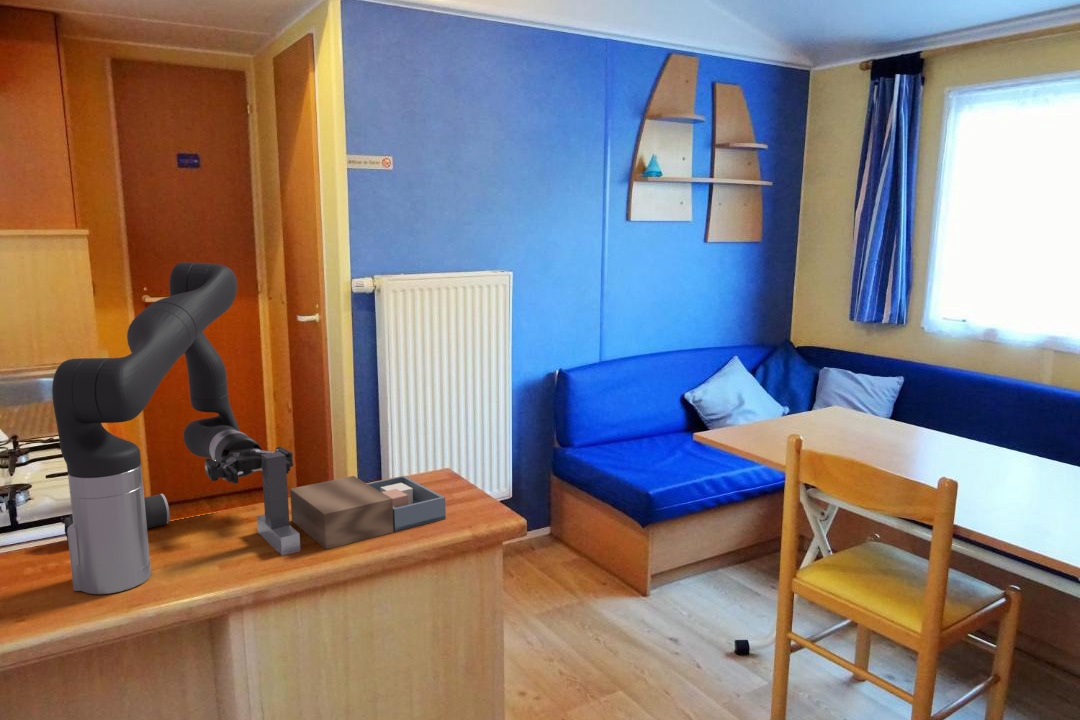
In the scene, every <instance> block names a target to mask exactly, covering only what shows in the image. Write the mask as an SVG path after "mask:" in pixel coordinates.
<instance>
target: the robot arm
mask: <svg viewBox="0 0 1080 720" xmlns="http://www.w3.org/2000/svg"><path fill="white" fill-rule="evenodd" d="M168 285H169V296H166V297H163V298H160V299H158V300H156V301H154V302H152V303H151V304H149V305H148V306H147V307H145V308H144V309H143V310H142V311H141V312H140V313H139V314H138V315H137V316H135V318H134V319H133V320H131V321H132V322H130V324H129V326H128V328H127V329H128V330H127V333H126V334H127V335H126V339H127V345H128V347H129V350H130V352H131V353H130V354H127V355H125V356H122V357H121V356H120V357H93V358H91V357H89V358H88V357H87V358H85V357H84V358H83V357H82V358H80V357H79V358H70V359H67V360H65V361H64V360H63V362H62V363H61V364H59V365H58V367H57V368H56V370H55V372H54V374H53V379H52V385H51V387H52V388H51V393H52V394H51V395H52V404H53V410H54V416H55V422H56V423H55V424H56V427H57V433H58V434H57V435H58V440H59V441H58V442H59V446H60V451H61V452H60V453H61V455H62V457H63V460H64V461H65V465H66V469H67V476H68V477H67V478H68V479H67V480H68V489H69V495H70V496H69V497H70V505H71V513H72V514H71V515H72V516H73V524H72V525H70V526H69V527H68V529H67V534H68V540H67V543H68V550H69V552H68V553H69V561H70V569H71V580H72V588H73V591H74V592H84V593H85V594H90V595H106V594H114V593H119V592H122V591H127V590H130V589H133V588H135V587H137V586H139V585H141V584H143V583H145V582H146V581H148V580H149V578H151V575H152V567H151V558H150V547H149V535H148V528H147V522H146V511H145V500H144V498H145V492H144V491H145V489H144V483H143V470H142V461H141V460H142V457H141V451H140V448H139V446H138V445H137V444H136V443H134V442H132V441H130V440H127V439H123V438H121V437H118V436H116V435H114V434H113V433H111V432H110V431H108V430H107V429H106V428H105V427H104V426H103V424H114V423H116V424H117V423H124V422H129V421H132V420H135V418H137V416H139V415H140V414H141V413H142V412H143V410H145V408H146V406H147V405H148V403H149V402H150V400H151V398H152V397H153V395H154V393H155V392H156V390H157V388H158V387H159V385H160V384H161V382H162V380H163V379H164V377H165V376H166V375H167V374H168V372H169V371H170V370H171V369H172V368H173V366H174V364H175V363H177V361H178V360H179V359H180V358H181V357H182V356H183V355H184V357H185V361H186V367H187V373H188V375H187V376H188V377H187V378H188V388H189V397H190V399H189V400H190V405H191V407H192V408H193V409H194V411H195V410H196V411H198V412H202V413H213V414H214V413H215V414H218V415H217V416H212V417H207V418H200V419H196V420H193V421H191V422H189V423H188V424H187V425H186V426H185V428H184V430H183V441H184V444H185V446H186V448H187V450H188V451H190V453H191V454H193V455H194V456H197V457H200V458H205V460H204V469H205V475H206V476H207V477H208V479H209V480H210V481H211V482H216V481H218V480H219V478H222V480H223V481H227V482H229V483H232V484H233V485H235V484H238V483H239V478H243V477H247V476H249V475H251V474H253V473H255V472H258V471H261V472H262V461H261V454H267V453H272V452H273V451H271V450H263V448H262V447H261V445H260V444H259V443H258V442H257V441H256V440H255V439H253V438H252V437H250V436H248V435H247V434H246V433H244V432H242V431H241V430H240V427H239V425H238V424H239V423H238V422H237V420H236V417H235V415H234V413H233V409H232V407H231V403H230V399H229V398H230V397H229V392H228V391H229V390H228V375H227V369H226V366H225V363H224V361H223V359H222V358H221V355H220V354H219V353H218V352H217V350H216V349H215V348H214V346H213V345H212V343H211V342H210V340H209V339H208V338H207V336H206V335H205V333H204V331H205V330H206V328H208V327H209V325H210V324H212V323H213V322H214V321H216V320H217V319H218V318H219V317H221V316H222V315H223V314H225V313H226V312H227V311H229V309H230V308H231V307H232V305H233V303H234V302H235V299H236V295H237V292H238V280H237V276H236V274H235V273H234V271H233V270H232V269H231V268H230V267H228V266H226V265H223V264H220V263H219V264H218V263H206V262H188V261H187V262H186V261H185V262H184V261H183V262H178V263H176V264H175V265H174V266H173V268H172V270H171V273H170V274H169V284H168ZM278 451H280V452H281V453H283V454H284V455H286V471H287V475H288V474H289V472H290V471H291V468H292V467H294V460H293V457H294V455H293V453H294V452H292V451H290V450H288V449H286V448H284V447H282V446H277V447H275V451H274V452H278Z"/></svg>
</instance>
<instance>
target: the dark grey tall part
mask: <svg viewBox="0 0 1080 720" xmlns="http://www.w3.org/2000/svg"><path fill="white" fill-rule="evenodd" d="M261 461H262V471H261V473H262V477H261V478H262V488H263V489H262V490H263V491H262V492H263V504H264V514H262V515H258V516H256V521H257V524H256V525H257V533H258V534H259V536H261V537H262V538H263V540H265V541H266V542H267V543H268V544H269V545H270V546H271V547H272V548H273V549H275V551H276V552H277V553H279V554H280V555H281V556H285V555H290V554H293V553H294V554H295V553H298V552H301V538H300V537H301V536H300V535H301V534H300V532H298V531H297V530H296V529H295V528H294V527H293V526H292V525H291V524H290V510H289V508H290V506H289V492H288V491H289V488H288V474H287V471H286V455H284V454H283V453H281V452H280V451H278V452H275V451H272V453H267V454H261Z"/></svg>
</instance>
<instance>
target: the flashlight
mask: <svg viewBox="0 0 1080 720" xmlns="http://www.w3.org/2000/svg"><path fill="white" fill-rule="evenodd" d="M144 500H145V511H146V522H147V529H152V528H155V527H159V526H164V525H169V522H170V517H171V515H170V507H169V503H168V500H167V498H166V496H165V494H164V493H158V494H154V495H151V496H147V497H145V496H144ZM166 522H168V523H166ZM72 524H73V516H72V514H70V515H69V517H65V518H64V535H65V537H66V540H67V541H68V534H67V529H68V527H69V526H70V525H72Z"/></svg>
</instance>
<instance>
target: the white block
mask: <svg viewBox="0 0 1080 720" xmlns="http://www.w3.org/2000/svg"><path fill="white" fill-rule="evenodd" d="M393 489H398V490H399V491H401V492H403V493H405V494H407V495H408V505H410V504H413V488H411V487H409V486H407V485H405V484H403V483H398V484H393V485H389V486H384V487H381V492H384V491H389V490H393Z"/></svg>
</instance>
